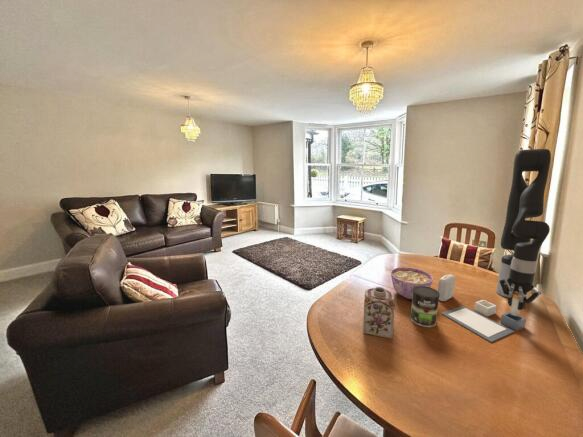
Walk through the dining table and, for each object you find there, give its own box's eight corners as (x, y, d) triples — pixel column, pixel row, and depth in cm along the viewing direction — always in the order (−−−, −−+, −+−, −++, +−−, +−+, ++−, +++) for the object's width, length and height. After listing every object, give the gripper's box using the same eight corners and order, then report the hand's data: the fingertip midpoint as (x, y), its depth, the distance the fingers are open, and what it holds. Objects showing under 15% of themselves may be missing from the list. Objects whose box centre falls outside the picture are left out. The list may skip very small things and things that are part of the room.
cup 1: (481, 307, 122) (483, 299, 121) (495, 313, 116) (496, 305, 115) (474, 309, 119) (475, 302, 119) (487, 316, 114) (488, 308, 113)
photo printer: (445, 293, 135) (448, 271, 132) (454, 296, 131) (457, 274, 129) (435, 299, 129) (438, 276, 127) (444, 302, 126) (447, 279, 123)
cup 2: (508, 319, 112) (509, 311, 111) (524, 327, 106) (526, 318, 105) (500, 323, 109) (501, 314, 109) (516, 331, 104) (517, 322, 103)
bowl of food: (388, 301, 128) (390, 280, 126) (389, 283, 146) (390, 265, 144) (433, 308, 121) (435, 286, 118) (428, 289, 139) (430, 269, 137)
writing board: (463, 306, 122) (463, 305, 122) (514, 332, 104) (514, 330, 103) (441, 313, 117) (441, 312, 117) (491, 342, 98) (491, 341, 98)
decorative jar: (391, 322, 112) (394, 284, 108) (393, 339, 101) (396, 298, 97) (363, 317, 116) (365, 281, 112) (362, 333, 105) (363, 294, 101)
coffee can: (438, 329, 106) (441, 299, 103) (411, 324, 110) (414, 295, 107) (434, 315, 116) (437, 287, 113) (409, 311, 119) (411, 284, 116)
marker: (511, 313, 109) (515, 291, 107) (520, 316, 106) (524, 294, 104) (508, 314, 107) (511, 293, 105) (516, 318, 105) (520, 296, 103)
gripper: (550, 273, 97) (541, 314, 101) (508, 261, 110) (502, 297, 114) (539, 277, 95) (530, 318, 98) (497, 264, 107) (491, 301, 111)
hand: (515, 307), depth 106 cm, fingers closed on marker, 2 cm apart
